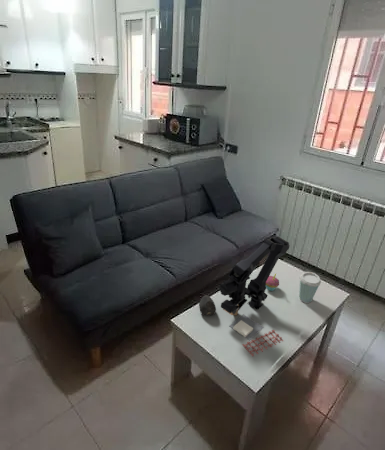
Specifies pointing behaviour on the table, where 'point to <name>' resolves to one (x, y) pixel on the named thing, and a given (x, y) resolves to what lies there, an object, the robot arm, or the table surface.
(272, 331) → the red lattice rack
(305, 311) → the table surface
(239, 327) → the tile
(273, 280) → the cupcake
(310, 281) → the disposable coffee cup
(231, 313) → the turner
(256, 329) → the mat
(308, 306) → the table surface
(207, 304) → the stone
